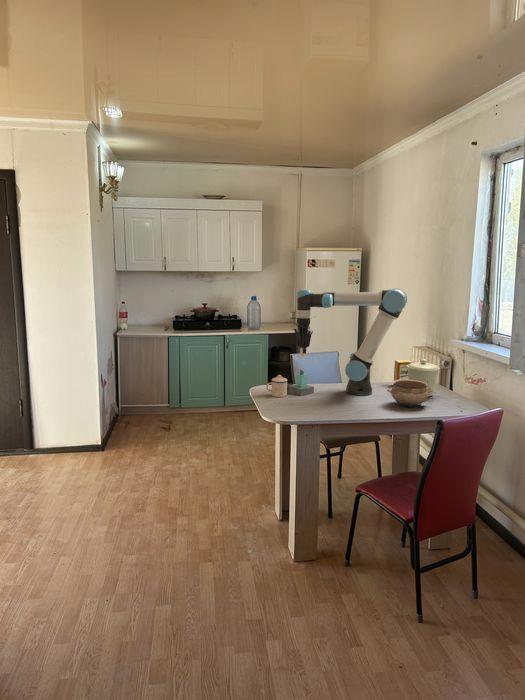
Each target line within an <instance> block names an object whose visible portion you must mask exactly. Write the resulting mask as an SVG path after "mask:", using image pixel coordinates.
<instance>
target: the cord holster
mask: <svg viewBox="0 0 525 700" xmlns="http://www.w3.org/2000/svg"><path fill="white" fill-rule="evenodd" d="M290 385H295V384H294V383H287V392H289V386H290Z"/></svg>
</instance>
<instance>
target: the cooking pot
mask: <svg viewBox="0 0 525 700" xmlns="http://www.w3.org/2000/svg"><path fill="white" fill-rule="evenodd" d="M392 383H393V384H394V385H392V387H391V389H387V390H386V392H389V393H390V394H391V397H392V399H393V400H395V401H396V402H397V403H398V404H400V405H401V406H403V407H406V408H415V407H417V406H419V405H421V404H423V403H425V402H426V401H427V400H428V398H429V397H428V393H430V392H431V391H432V389H431V388H430V389H427V385H428V384H427V383H425V382H423V381H418V380H410V379H400V380H395V381H394V380H393V381H392ZM429 390H430V391H429Z"/></svg>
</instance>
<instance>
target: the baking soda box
mask: <svg viewBox="0 0 525 700" xmlns="http://www.w3.org/2000/svg"><path fill="white" fill-rule="evenodd" d="M410 363H415V362H414V361H412V360H410V359H409V360H408V359H407V360H406V359H405V360H404V359H403V360H398V359H397V360H394V368H393V369H394V371H393V381H395V380H400V379H408V368H407V365H409V364H410ZM393 385H394V383H393ZM393 385H392V386H393Z"/></svg>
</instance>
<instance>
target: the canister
mask: <svg viewBox="0 0 525 700" xmlns="http://www.w3.org/2000/svg"><path fill="white" fill-rule="evenodd" d="M407 368H408V379H410V380H418V381H423V382H425V383H427V384H428V385H427V389H430V388H431V389H432V391H431V392H430V393H428V398H429V397H432V396H433V395H434V393H435V391H436V385H437V381H438V380H437V379H438V375H439V370H440V369H441V368H440V367H439V366H438V365H436V364H434V363H429V362H428V360H427V359H425V358H421V359H420V361H418V362H414V363H410V364H409V365H407ZM429 391H430V390H429Z"/></svg>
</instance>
